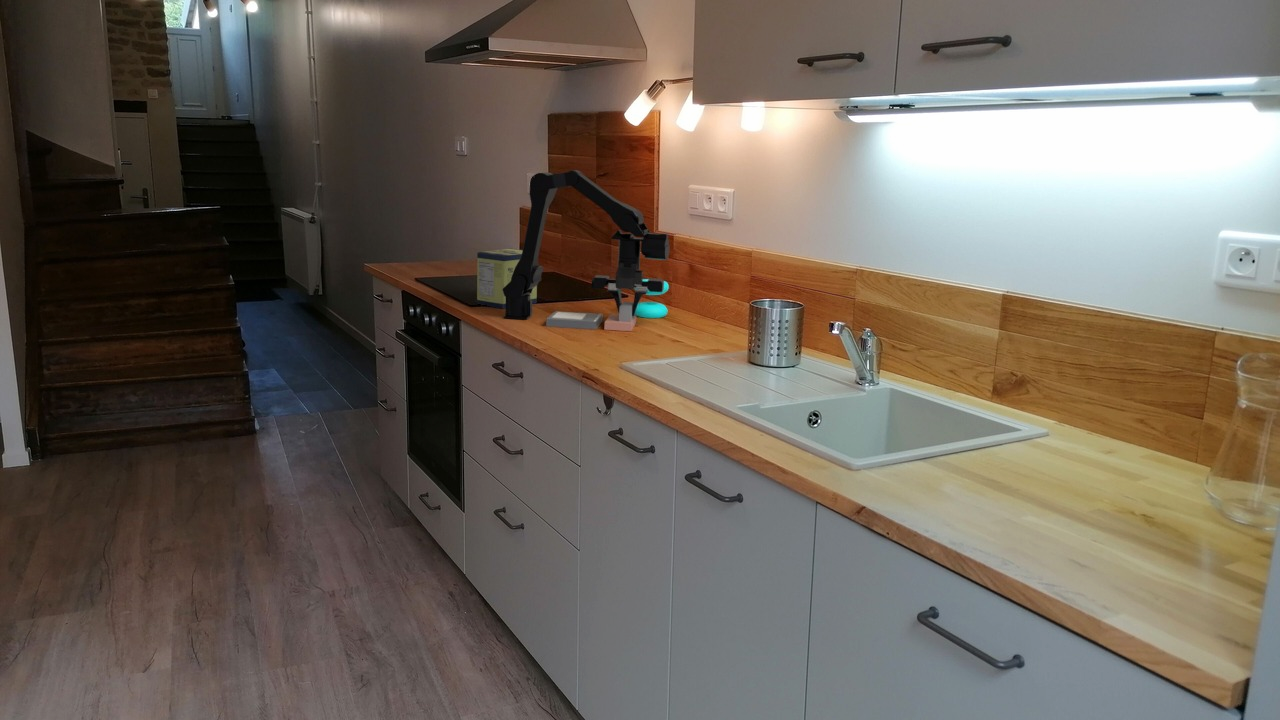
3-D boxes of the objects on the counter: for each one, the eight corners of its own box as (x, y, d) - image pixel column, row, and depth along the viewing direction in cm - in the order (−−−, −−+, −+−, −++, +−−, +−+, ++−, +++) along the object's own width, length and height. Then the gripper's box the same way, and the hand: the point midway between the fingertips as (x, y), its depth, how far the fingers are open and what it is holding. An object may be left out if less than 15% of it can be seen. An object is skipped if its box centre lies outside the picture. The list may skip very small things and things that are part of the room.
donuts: (664, 284, 259) (629, 281, 262) (662, 320, 261) (628, 317, 264) (672, 280, 269) (639, 277, 271) (671, 314, 271) (637, 311, 273)
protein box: (537, 303, 280) (538, 251, 277) (503, 309, 267) (503, 255, 264) (510, 298, 286) (511, 248, 282) (475, 305, 273) (476, 251, 269)
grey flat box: (546, 326, 246) (546, 318, 245) (555, 318, 257) (555, 310, 257) (595, 329, 244) (596, 321, 244) (602, 321, 256) (602, 313, 255)
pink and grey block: (604, 329, 244) (605, 306, 243) (610, 321, 256) (611, 299, 254) (631, 331, 243) (631, 308, 242) (636, 322, 255) (637, 301, 254)
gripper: (589, 258, 238) (587, 319, 242) (661, 263, 237) (658, 323, 240) (595, 254, 249) (593, 311, 253) (665, 258, 247) (662, 315, 251)
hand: (626, 315), depth 249 cm, fingers closed on pink and grey block, 3 cm apart
